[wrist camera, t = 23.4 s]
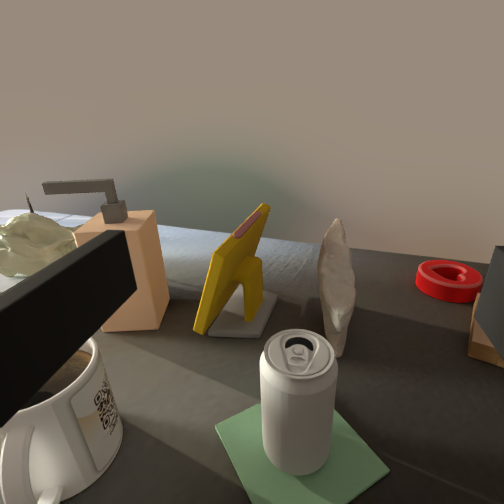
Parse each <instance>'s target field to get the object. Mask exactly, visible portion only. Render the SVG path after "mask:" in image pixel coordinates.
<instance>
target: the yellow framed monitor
mask: <svg viewBox="0 0 504 504" xmlns="http://www.w3.org/2000/svg"><path fill="white" fill-rule="evenodd" d="M270 209H271V208H270V206H269V205H267V204H264V203H263V204H261V205H260V206H259V207H258V208H257V209H256V210H255V211H254V212H253V213H252V214H251V215H250V216H249V217H248V218H247V219H246V220H245V221H244V222H243V223H242V224H241V226H239V227H238V228H237V229H236V230H235V231H234V232H233V233H232V234H231V235H230V236H229V237H228V238H227V239H226V240H225V241H224V242H223V243H222V244H221V245H220V246H219V247H218V248H217V249H216V250H215V251H214V252H213V255H212V259H211V262H210V266H209V270H208V274H207V278H206V282H205V285H204V289H203V293H202V297H201V301H200V304H199V308H198V312H197V316H196V320H195V324H194V327H193V331H195V332H197V333H199V334H201V335H203V334H205V332H206V331H207V329H208V328H209V326H210V325H211V323H212V322H213V321H214V319H215V318H216V316H217V315H218V313H219V312H220V310H221V309H222V308H223V306H224V305H225V303H226V302H227V300H228V299H229V297H230V296H231V295H232V293H233V292H234V290H235V289H236V287H237V286H238V284H239V283H241V284H240V285H239V287H238V288H237V289H236V291H235V292H234V294H233V295H232V297H231V298H230V300H229V301H228V303H227V304H226V305H225V307H224V308H223V310H222V311H221V313H220V314H219V316H218V317H217V319H216V320H215V322H214V323H213V324H212V326H211V327H210V329H209V330H208V335H209V336H214V337H238V338H260V337H261V335H262V332H263V330H264V328H265V326H266V324H267V321H268V319H269V317H270V315H271V312H272V310H273V308H274V306H275V304H276V301H277V299H278V295H277V294H275V293H271V292H268V291H264V290H263V275H262V260H261V259H260V258H258V257H254V255H255V252H256V249H257V246H258V244H259V241H260V238H261V235H262V232H263V229H264V226H265V223H266V220H267V217H268V214H269V211H270Z"/></svg>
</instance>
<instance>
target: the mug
mask: <svg viewBox="0 0 504 504" xmlns="http://www.w3.org/2000/svg"><path fill="white" fill-rule="evenodd" d="M122 436H123V427H122V422H121V419H120V416H119V412H118V409H117V406H116V403H115V400H114V396H113V393H112V390H111V387H110V384H109V381H108V377H107V374H106V371H105V368H104V365H103V361H102V358H101V355H100V352H99V349H98V345H97V343H96V341H95V340H94V339H93V338H92V337H90V338H89V339H88V340H87V341H86V342H85V343H84V344H83V346H82V347H81V348H80V349H79V350H78V351H77V352H76V353H75V354H74V355H73V356H72V357H71V358H70V359H69V360H68V361H67V362H66V363H65V364H64V365H63V366H62V367H61V368H60V369H59V370H58V371H57V372H56V373H55V374H54V375H53V376H52V377H51V378H50V379H49V380H48V381H47V382H46V383H45V384H44V385H43V386H42V387H41V388H40V389H39V390H38V391H37V392H36V393H35V395H34V396H33V397H32V398H31V399H30V400H29V401H28V402H27V403H26V404H25V405H24V406H23V407H22V408H21V409H20V410H19V411H18V412H17V413H16V414H15V415H14V416H13V417H12V418H11V419H10V420H9V421H8V422H7V423H6V424H5V425H4V426H3V427H2V428H0V486H1V493H2V497H3V501H4V503H5V504H60V501H63V500H66V499H68V498H70V497H72V496H74V495H76V494H78V493H80V492H81V491H83V490H84V489H86V488H87V487H89V486H90V485H91V484H92V483H94V482H95V481H96V480H97V479H98V478H99V477H100V476H101V475H102V474H103V473H104V472H105V471H106V469H107V468H108V467H109V466H110V464H111V463H112V461H113V460H114V458H115V456H116V454H117V452H118V450H119V448H120V445H121V442H122Z"/></svg>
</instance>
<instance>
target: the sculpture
mask: <svg viewBox="0 0 504 504" xmlns="http://www.w3.org/2000/svg"><path fill="white" fill-rule="evenodd" d="M351 262H352V256H351V251H350V249H349V248H348V246H347V244H346V241H345V232H344V228H343V224H342V221H341V220H340V219H339V218H337V219H335V220H334V222H333V223H332V225H331V227H330V228H329V229H328V231H327V233H326V234H325V236H324V239H323V242H322V246H321V249H320V255H319V259H318V278H319V294H320V297H321V309H322V312H323V321H324V329H325V334H326V338H327V341H328V342H329V343H330V345H331V346H332V348H333V351H334V356H335V357H336V358H339V357H341V356H342V354H343V350H344V346H345V341H346V336H347V328H348V324H349V321H350V319H351V316H352V313H353V309H354V303H355V297H356V290H355V287H354V284H355V274H354V272H353V270H352V266H351Z"/></svg>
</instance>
